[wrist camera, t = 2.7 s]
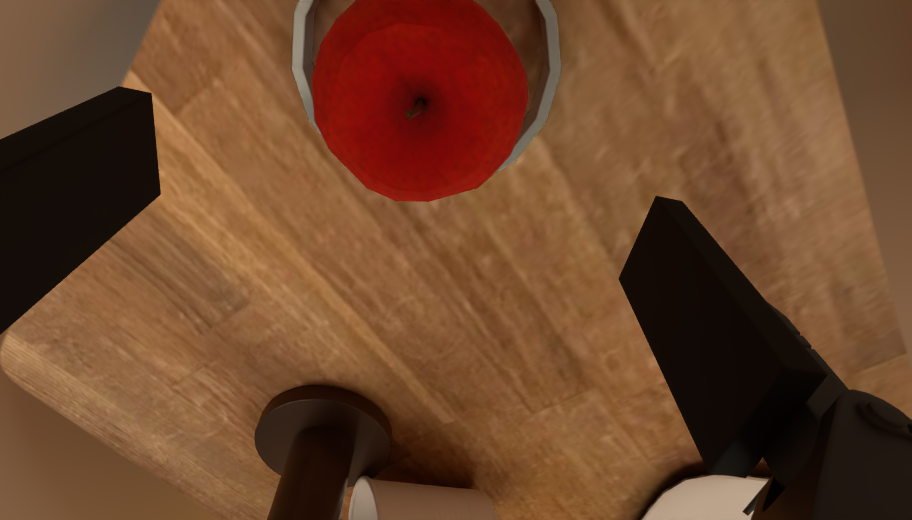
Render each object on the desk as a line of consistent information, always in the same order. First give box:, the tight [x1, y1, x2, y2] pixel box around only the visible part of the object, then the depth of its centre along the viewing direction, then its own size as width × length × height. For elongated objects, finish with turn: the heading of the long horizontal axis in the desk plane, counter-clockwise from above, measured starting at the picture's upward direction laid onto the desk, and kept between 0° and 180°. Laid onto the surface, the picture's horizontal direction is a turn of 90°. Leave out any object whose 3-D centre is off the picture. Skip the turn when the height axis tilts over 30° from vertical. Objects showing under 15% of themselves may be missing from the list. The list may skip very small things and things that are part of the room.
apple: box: [311, 0, 529, 202], centre depth 24 cm, size 9×9×11 cm
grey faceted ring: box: [291, 0, 561, 174], centre depth 28 cm, size 14×14×2 cm
